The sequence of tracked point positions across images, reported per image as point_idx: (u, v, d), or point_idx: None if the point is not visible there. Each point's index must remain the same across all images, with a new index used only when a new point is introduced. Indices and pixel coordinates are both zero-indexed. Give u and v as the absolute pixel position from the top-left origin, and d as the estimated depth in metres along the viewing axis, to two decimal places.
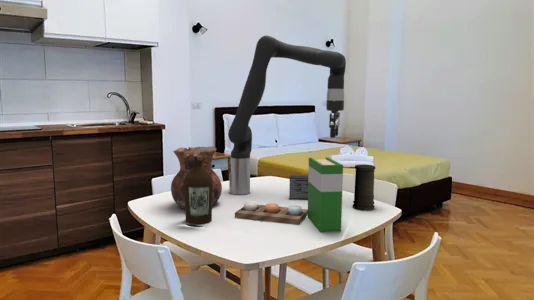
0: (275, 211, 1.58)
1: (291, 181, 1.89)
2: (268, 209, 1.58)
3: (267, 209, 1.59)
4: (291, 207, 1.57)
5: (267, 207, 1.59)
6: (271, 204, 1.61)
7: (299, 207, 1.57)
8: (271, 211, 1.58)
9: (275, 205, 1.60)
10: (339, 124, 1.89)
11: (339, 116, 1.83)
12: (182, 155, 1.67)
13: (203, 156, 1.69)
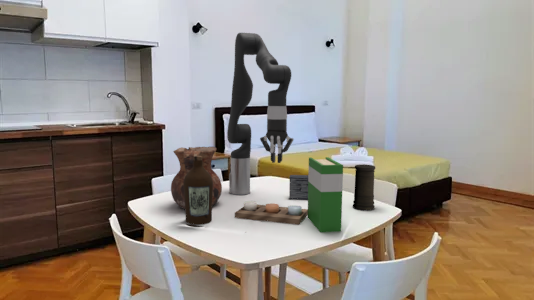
0: (275, 211, 1.58)
1: (291, 181, 1.89)
2: (268, 209, 1.58)
3: (267, 209, 1.59)
4: (291, 207, 1.57)
5: (267, 207, 1.59)
6: (271, 204, 1.61)
7: (299, 207, 1.57)
8: (271, 211, 1.58)
9: (275, 205, 1.60)
10: None
11: None
12: (182, 155, 1.67)
13: (203, 156, 1.69)
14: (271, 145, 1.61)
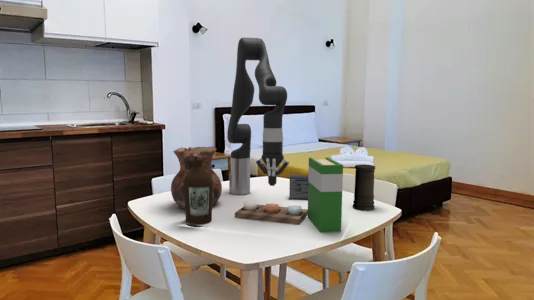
0: (275, 211, 1.58)
1: (291, 181, 1.89)
2: (268, 209, 1.58)
3: (267, 209, 1.59)
4: (291, 207, 1.57)
5: (267, 207, 1.59)
6: (271, 204, 1.61)
7: (299, 207, 1.57)
8: (271, 211, 1.58)
9: (275, 205, 1.60)
10: None
11: None
12: (182, 155, 1.67)
13: (203, 156, 1.69)
14: (268, 168, 1.57)
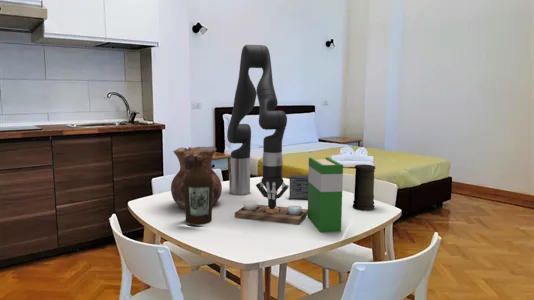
0: None
1: (291, 181, 1.89)
2: (268, 212, 1.59)
3: (267, 212, 1.59)
4: (291, 207, 1.57)
5: (267, 210, 1.59)
6: None
7: (299, 207, 1.57)
8: None
9: (275, 208, 1.60)
10: None
11: None
12: (182, 155, 1.67)
13: (203, 156, 1.69)
14: (268, 191, 1.58)
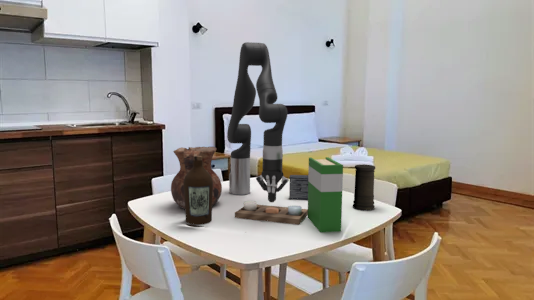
0: None
1: (291, 181, 1.89)
2: None
3: None
4: (291, 207, 1.57)
5: (267, 211, 1.59)
6: (271, 208, 1.61)
7: (299, 207, 1.57)
8: None
9: (275, 209, 1.60)
10: (267, 187, 1.62)
11: None
12: (182, 155, 1.67)
13: (203, 156, 1.69)
14: (268, 185, 1.58)
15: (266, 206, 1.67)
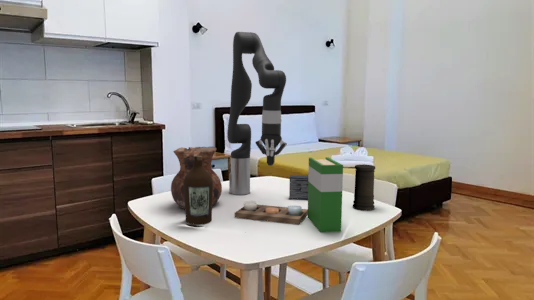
0: None
1: (291, 181, 1.89)
2: None
3: None
4: (291, 207, 1.57)
5: (267, 211, 1.59)
6: (271, 208, 1.61)
7: (299, 207, 1.57)
8: None
9: (275, 209, 1.60)
10: None
11: None
12: (182, 155, 1.67)
13: (203, 156, 1.69)
14: (266, 148, 1.65)
15: (266, 206, 1.67)
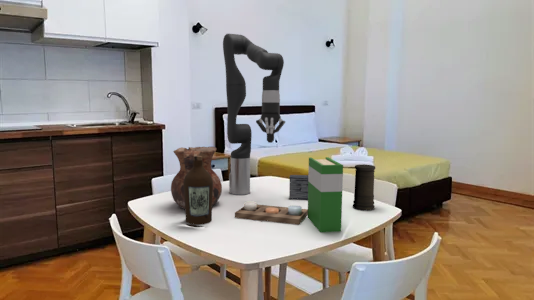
0: None
1: (291, 181, 1.89)
2: None
3: None
4: (291, 207, 1.57)
5: (267, 211, 1.59)
6: (271, 208, 1.61)
7: (299, 207, 1.57)
8: None
9: (275, 209, 1.60)
10: None
11: None
12: (182, 155, 1.67)
13: (203, 156, 1.69)
14: (266, 126, 1.76)
15: (266, 206, 1.67)
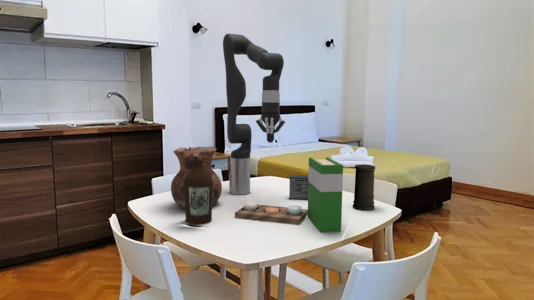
0: None
1: (291, 181, 1.89)
2: None
3: None
4: (291, 207, 1.57)
5: (267, 211, 1.59)
6: (271, 208, 1.61)
7: (299, 207, 1.57)
8: None
9: (275, 209, 1.60)
10: None
11: None
12: (182, 155, 1.67)
13: (203, 156, 1.69)
14: (266, 126, 1.76)
15: (266, 206, 1.67)
